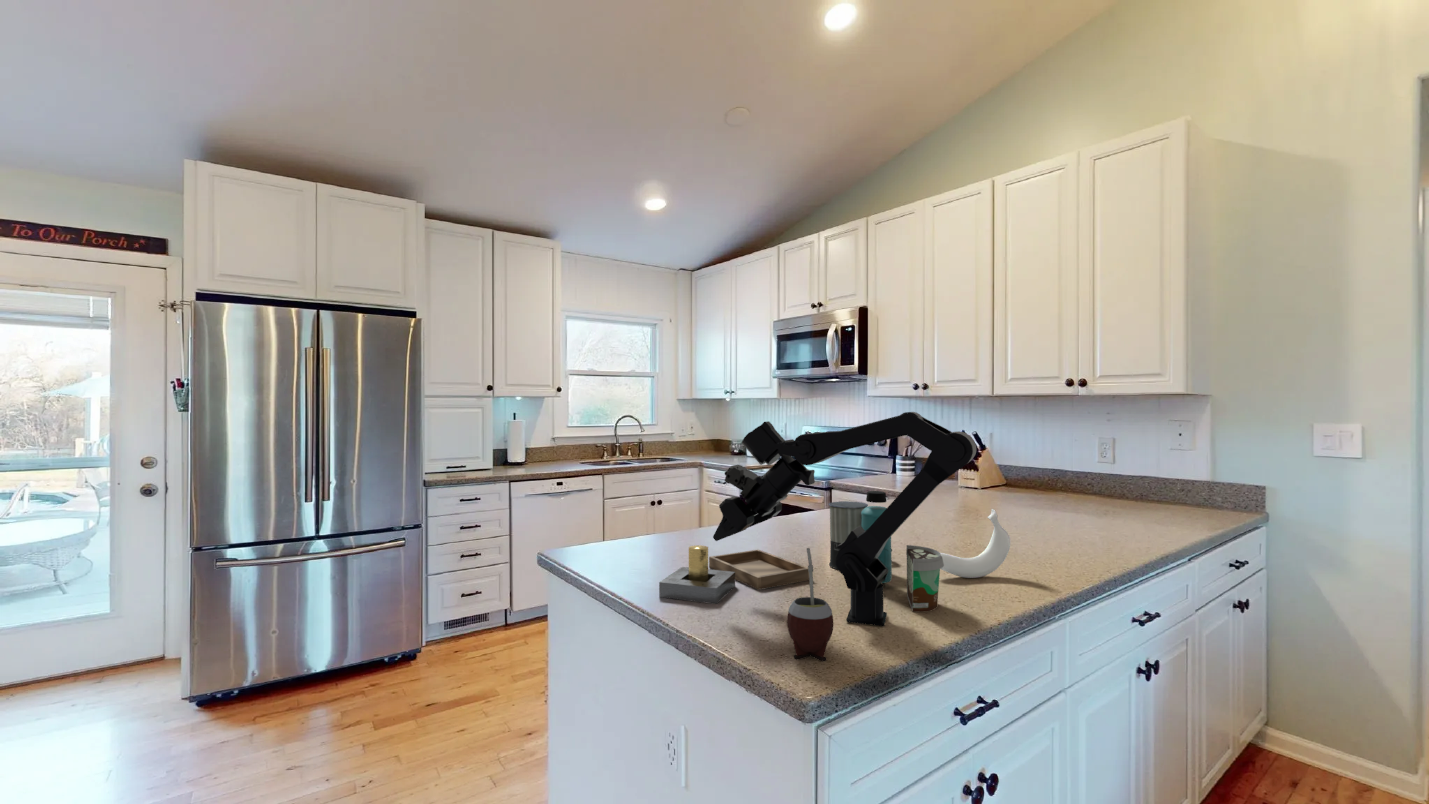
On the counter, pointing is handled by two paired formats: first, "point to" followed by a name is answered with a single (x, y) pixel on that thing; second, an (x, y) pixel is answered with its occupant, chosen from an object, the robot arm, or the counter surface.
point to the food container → (923, 577)
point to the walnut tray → (760, 568)
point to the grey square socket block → (697, 586)
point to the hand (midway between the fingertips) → (725, 534)
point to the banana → (981, 555)
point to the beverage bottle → (869, 518)
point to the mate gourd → (810, 623)
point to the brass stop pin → (698, 563)
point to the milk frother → (843, 524)
